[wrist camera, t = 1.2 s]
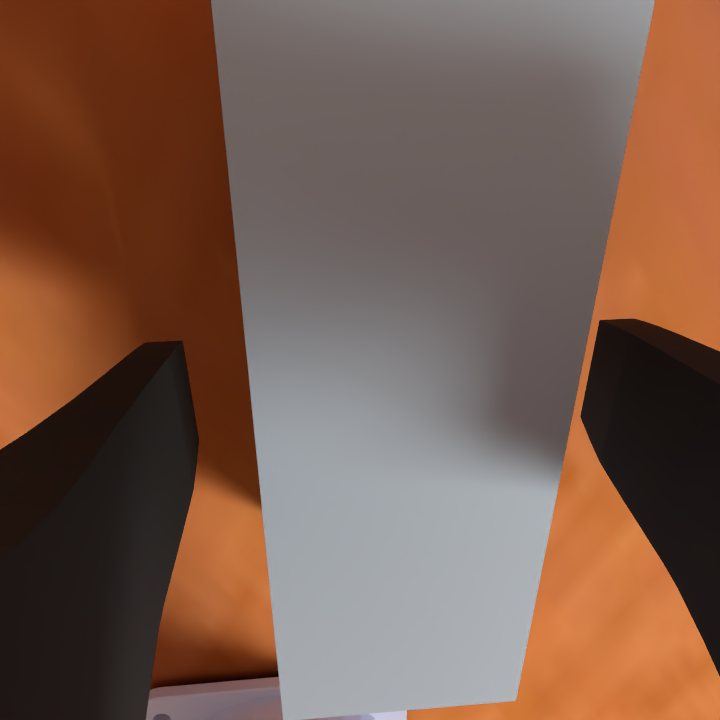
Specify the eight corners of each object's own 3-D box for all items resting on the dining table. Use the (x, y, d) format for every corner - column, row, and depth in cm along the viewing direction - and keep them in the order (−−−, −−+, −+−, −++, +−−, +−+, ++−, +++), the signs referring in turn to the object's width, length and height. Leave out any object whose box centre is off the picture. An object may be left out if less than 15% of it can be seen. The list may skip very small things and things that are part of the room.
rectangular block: (454, 505, 17) (515, 701, 12) (286, 516, 17) (283, 721, 12) (503, -9, 11) (658, -14, 7) (246, -10, 11) (209, -14, 6)
